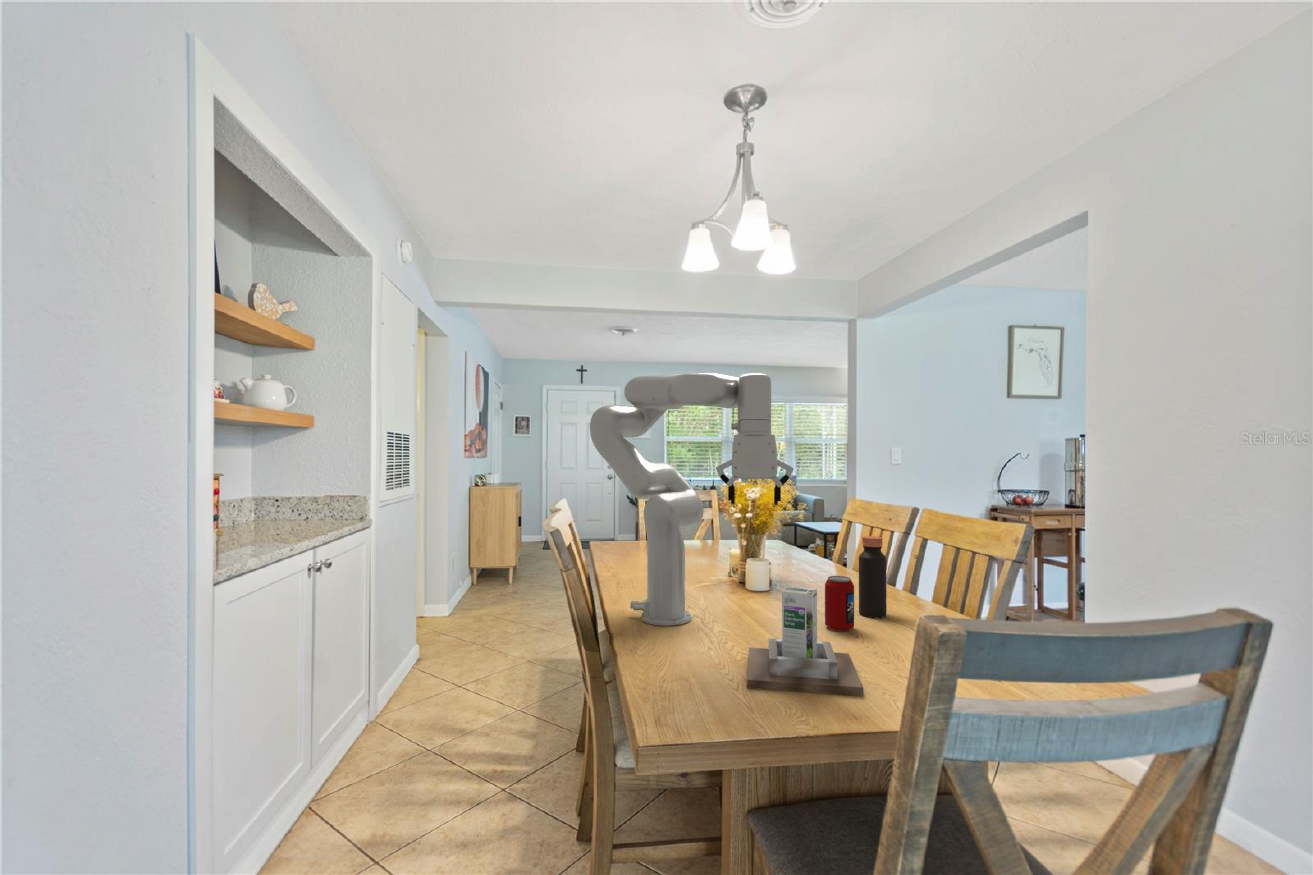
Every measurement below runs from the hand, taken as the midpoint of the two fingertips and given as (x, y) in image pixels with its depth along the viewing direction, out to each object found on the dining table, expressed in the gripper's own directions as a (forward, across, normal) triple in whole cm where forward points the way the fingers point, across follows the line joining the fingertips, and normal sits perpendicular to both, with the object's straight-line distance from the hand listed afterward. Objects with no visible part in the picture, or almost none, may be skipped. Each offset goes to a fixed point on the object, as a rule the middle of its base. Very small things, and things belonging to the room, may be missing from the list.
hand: (754, 504), depth 138 cm
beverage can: (+31, +20, +12) cm, 38 cm away
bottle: (+31, +30, +26) cm, 50 cm away
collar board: (+30, +9, -20) cm, 37 cm away
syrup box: (+29, +9, -20) cm, 36 cm away
